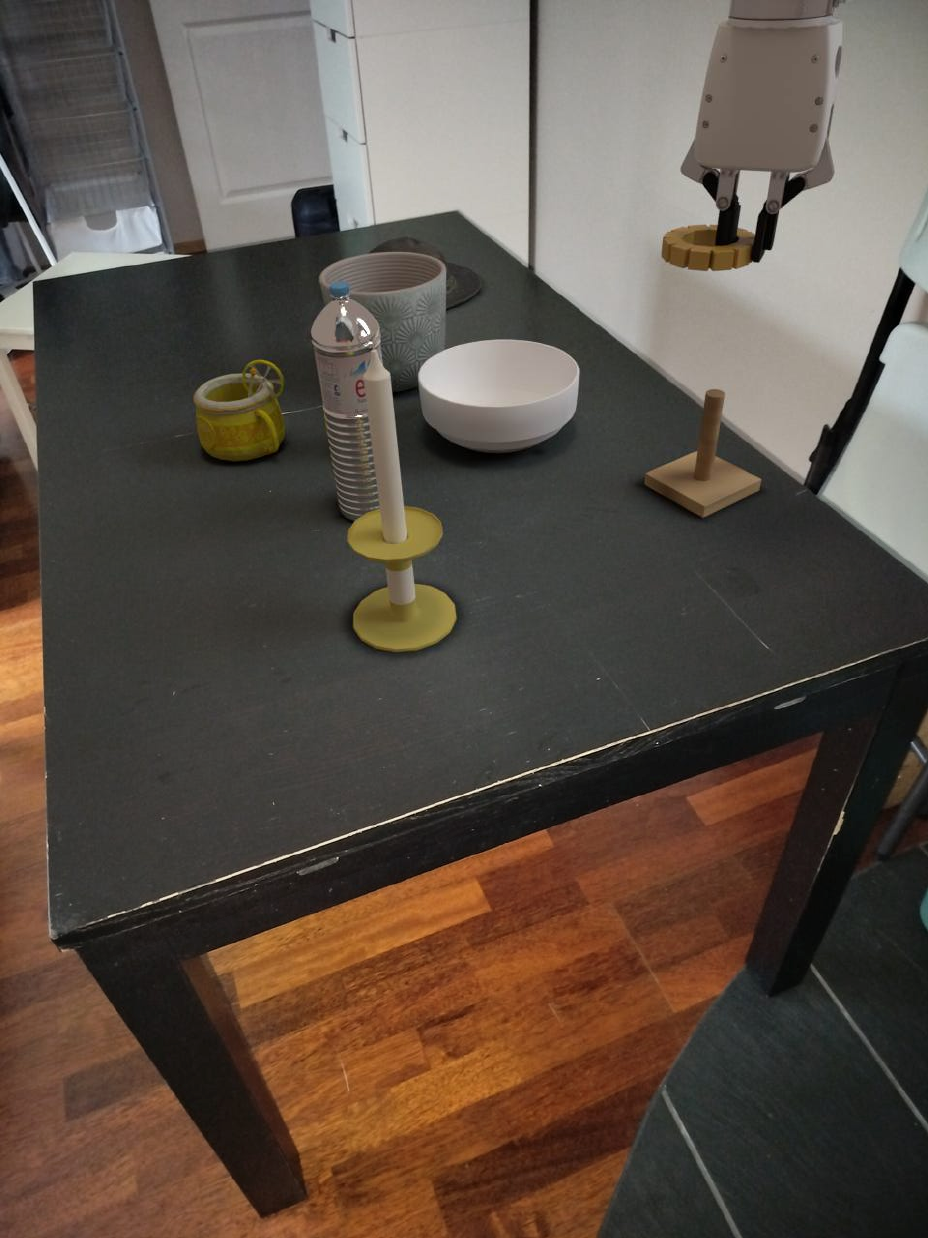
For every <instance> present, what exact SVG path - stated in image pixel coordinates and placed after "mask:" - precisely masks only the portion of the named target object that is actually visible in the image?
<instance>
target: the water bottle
mask: <svg viewBox="0 0 928 1238" xmlns="http://www.w3.org/2000/svg"><path fill="white" fill-rule="evenodd" d="M329 289H330V292H331V295H330V296H331V297H332V299H333V300H332V301H331V302H329V303H328V304H327V305H326V306H323V308H322V309H321V310H320V311H319V313H318V314H317V316H316V317H315V319H314V321H313V323H312V325H311V328H310V339H311V346H312V348H313V350H314V356H315V362H316V363H315V364H316V370H317V376H318V381H319V387H320V388H319V389H320V393H321V395H320V396H321V400H322V413H323V419H324V427H325V430H326V431H325V433H326V437H327V444H328V451H329V456H330V457H329V458H330V460H331V461H330V462H331V468H332V473H333V481H334V487H335V491H336V492H335V493H336V498H337V503H338V507H339V510H340V513H341V514H342V516H343V517H345V518H346V519H348V520H349V521H352V522H354V521H355V520H357V519H359V518H360V517H362V516H363V515H365V514H366V513H368V512H371V511H375V510H378V509H380V505H379V498H378V490H377V482H376V474H375V466H374V458H373V450H372V442H371V434H370V426H369V418H368V410H367V402H366V395H365V387H364V379H363V375H364V374H365V373H366V371H367V369H368V367H369V364H370V358H371V351H372V350H373V346H372V343H373V344H374V349H375V350H377V353H378V356H379V359H380V361H381V363H382V365H383V362H382V353H381V345H380V341H381V333H380V326H379V323H378V322H377V320H376V319H375V318H374V316H373V315H372V314H371V313H370V312H369V311H368V310H367V309H366V308H365V307H363V306H362V305H361V304H359V303H358V302H356V301H354V300H352V299H350V298H349V295H350V292H349V290H350V289H349V284H348V283H346V282H335V283H332V284H331V285H330V286H329Z"/></svg>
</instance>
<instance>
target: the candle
mask: <svg viewBox="0 0 928 1238" xmlns="http://www.w3.org/2000/svg"><path fill="white" fill-rule="evenodd" d="M372 346H373V350H372V351H371V358H370V364H369V367H368V369H367V371H366V373H365V374H364V375H363V379H364V387H365V395H366V402H367V410H368V418H369V426H370V434H371V442H372V450H373V458H374V466H375V474H376V482H377V490H378V498H379V505H380V509H378V510H375V511H371V512H368V513H366V514H365V515H363V516H362V517H360V518H359V519H357V520H355V521H353V523H352V524H351V526H350V527H349V528H348V530H347V544H348V546H349V547H350V548H351V551H353V552H354V553H355V555H357V556H359V557H361V558H363V559H365V560H366V561H370V562H375V563H384V569H385V576H386V582H387V583H386V584H387V586H386V587H383V588H381V589H377V590H375V591H373V592H372V593H370V594H369V595H368V596H366V597H365V598H364V599H362V600H360V602H359V604H358V606H357V607H356V608H355V610H354V611H353V614H352V628H353V631H354V632H355V633H356V635H357V636H358V638H359V639H360V641H361V642H363V643H365V644H367V645H368V646H370V647H371V648H373V649H375V650H379V651H380V650H381V651H386V652H390V653H391V652H392V653H405V652H406V653H407V652H416V651H420V650H423V649H425V648H428V647H430V646H433V645H435V644H438V643H439V642H441V640H442V639H444V638H445V637H446V636H447V635H449V634H450V633H451V631H452V629H453V627H454V626H455V624H456V621H457V611H456V605H455V603H454V602H453V601H452V599H451V598H450V597H449V596H448V595H447V594H446V593H445V592H444V591H441V590H439V589H437V588H436V587H433V586H431V585H426V584H420V583H415V577H414V569H413V567H414V566H413V560H415V559H418V558H421V557H424V556H425V555H427V554H429V552H431V551H433V550H434V549H435V548H437V546H438V544H439V542H440V541H441V539H442V538H443V535H444V533H443V526H442V522H441V520H439V519H438V517H436V515H435V514H434V513H432V512H429V511H427V510H425V509H423V508H421V507H415V506H406V505H405V503H404V492H403V491H404V490H403V484H402V473H401V465H400V464H401V463H400V455H399V446H398V436H397V434H398V433H397V426H396V425H397V424H396V416H395V407H394V398H393V392H392V386H391V377H390V372H389V371H387V370H386V369H385V368H384V367H383V365H382V363H381V361H380V359H379V356H378V353H377V350H375V349H374V344H373V343H372Z"/></svg>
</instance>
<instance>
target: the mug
mask: <svg viewBox="0 0 928 1238" xmlns="http://www.w3.org/2000/svg"><path fill="white" fill-rule="evenodd" d="M256 364H262V365H266V366H267V368H266V371H265V374H264V376H262V374H261V372H260V371H259V369H258V368H257V366H256ZM249 368H251V369H250V370H249V373H246V372H247V370H248V369H249ZM271 369H273V370H274V371H275V372H276V374H277V375H278V377H279V378H276V379H273V378H271V379H268V378H266V377H267V376H268V374H269V372H270V371H271ZM274 384H278V385H280V389H279V391H278V392H277V393H275V391H274V389H275V387H274ZM284 388H285V379H284V376H283V374H282V371H281V370H280V369H279V367H277V366H276V365H275V364H274V363H272V362H271V361H268V360H264V359H254V360H252V361H251V362H248V363H247V364H246V366H245V367H244V368H243V371H242V373H229V374H225V375H221V376H218V377H215V378H212V379H210V380H207V381H206V382H204V383H203V384H201V385H200V386H199V388H197V390H196V391H195V392H194V394H193V396H192V397H193V399H192V400H193V402H194V405H195V407H196V408H195V416H196V427H197V434H198V438H199V441H200V445H201V448H203V449H204V451H205V452H206V453H207V454H208V455H209V456H211V457H213V458H215V459H218V460H222V461H228V462H245V461H252V460H255V459H260V458H262V457H264V456H267V455H271V454H273V453H276V452H277V451H279V448H280V446H281V444H282V442H283V441H284V439H285V437H286V433H287V429H286V423H285V419H284V416H283V411H282V409H281V406H280V403H279V401H278V397H280V396H281V394H282V393H283V390H284Z"/></svg>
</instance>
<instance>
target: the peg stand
mask: <svg viewBox="0 0 928 1238" xmlns="http://www.w3.org/2000/svg"><path fill="white" fill-rule="evenodd" d="M725 398H726V392H725V391H724V390H723V389H718V388H711V389H710V388H709V389H707V390H706V391H705V394H704V400H703V408H702V415H701V423H700V429H699V435H698V443H697V450H696V451H694V452H691V453H689V454H686V455H684V456H681V457H680V458H677V459H675V460H673V461H669V462H668V463H665V464H664V465H661V466H659V467H656V468H654V469H651V470H650V471H648V472H645V473H644V474H645V476H644V485H645V487H648V488H649V489H651V490H653V491H655V492H657V493H658V494H660V495H661V496H663V497H665V498H666V499H668V500H670V501H672V502H674V503H676V504H677V505H679V506H680V507H683V508H684V509H686V510H688V511H690V512H692V513H693V514H695V515H697V516H699V517H700V518H702V519H704V518H706V517H708V516H710V515H712V514H714V513H716V512H718V511H721V510H723V509H724V508H726V507H729V506H731V505H733V504H735V503H736V502H738V501H741V500H742V499H745V498H747V497H749V496H751V495H753V494H756V493H757V492H759V491H760V487H761V484H762V478H761V477H758V476H757V475H754V474H752V473H750V472H748V471H746V470H744V469H742V468H740V467H738V466H736V465H734V464H732V463H730V462H729V461H726V460H724V459H722V458H721V457H718V456H716V455H717V448H718V442H719V437H720V429H721V423H722V416H723V410H724V404H725Z"/></svg>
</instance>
